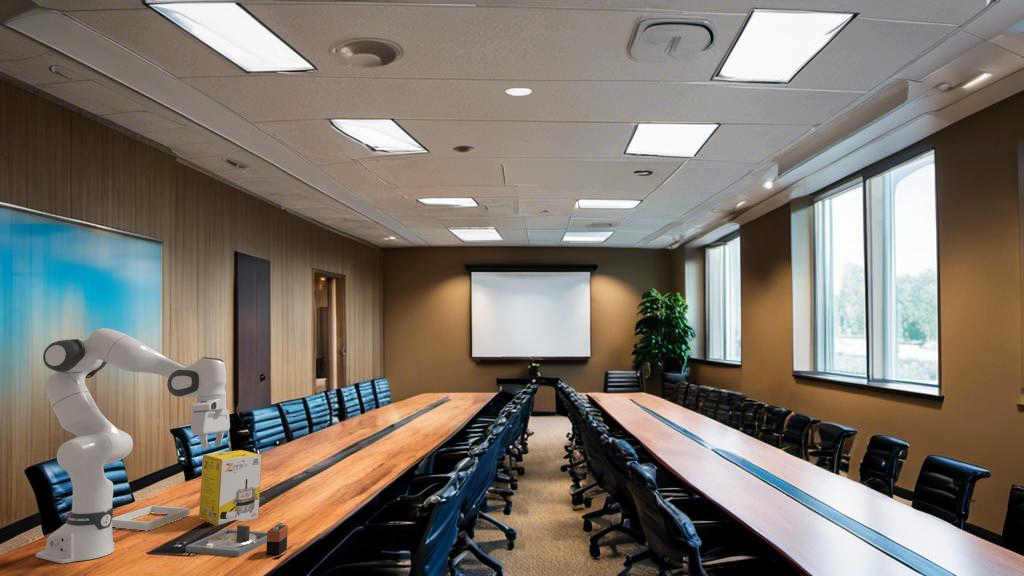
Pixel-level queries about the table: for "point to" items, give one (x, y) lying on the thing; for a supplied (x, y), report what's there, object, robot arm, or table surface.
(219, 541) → the dial
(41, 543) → the table surface
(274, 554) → the battery
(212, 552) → the panel
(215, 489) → the packaging box
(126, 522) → the light grey rectangular frame
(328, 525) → the table surface
